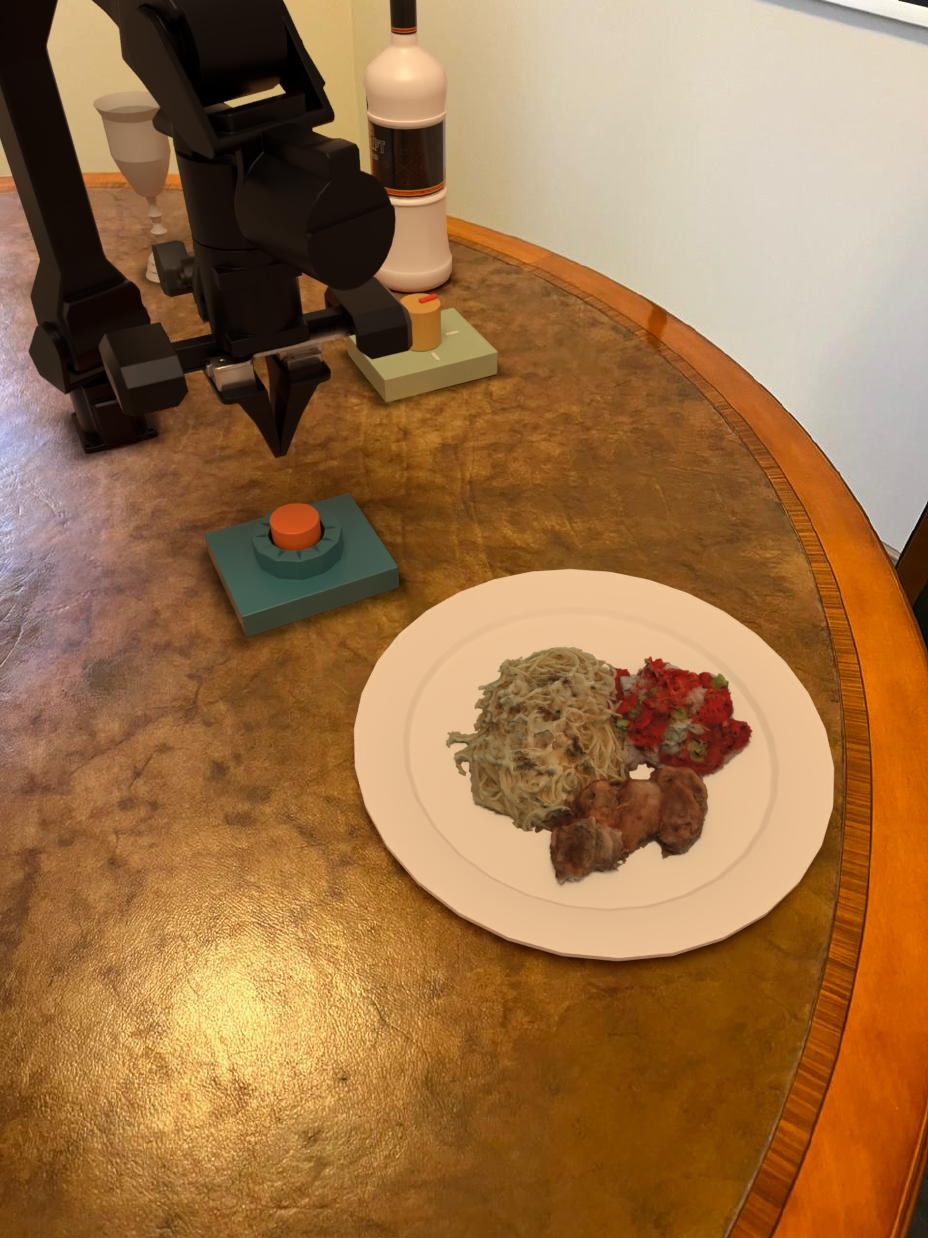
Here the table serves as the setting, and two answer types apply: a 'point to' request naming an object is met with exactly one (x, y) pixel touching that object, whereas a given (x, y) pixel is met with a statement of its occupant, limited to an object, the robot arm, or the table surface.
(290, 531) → the button
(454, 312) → the panel
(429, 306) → the lock dial
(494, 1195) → the table surface
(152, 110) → the chalice
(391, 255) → the vodka
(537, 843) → the plated food
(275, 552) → the teal button base
